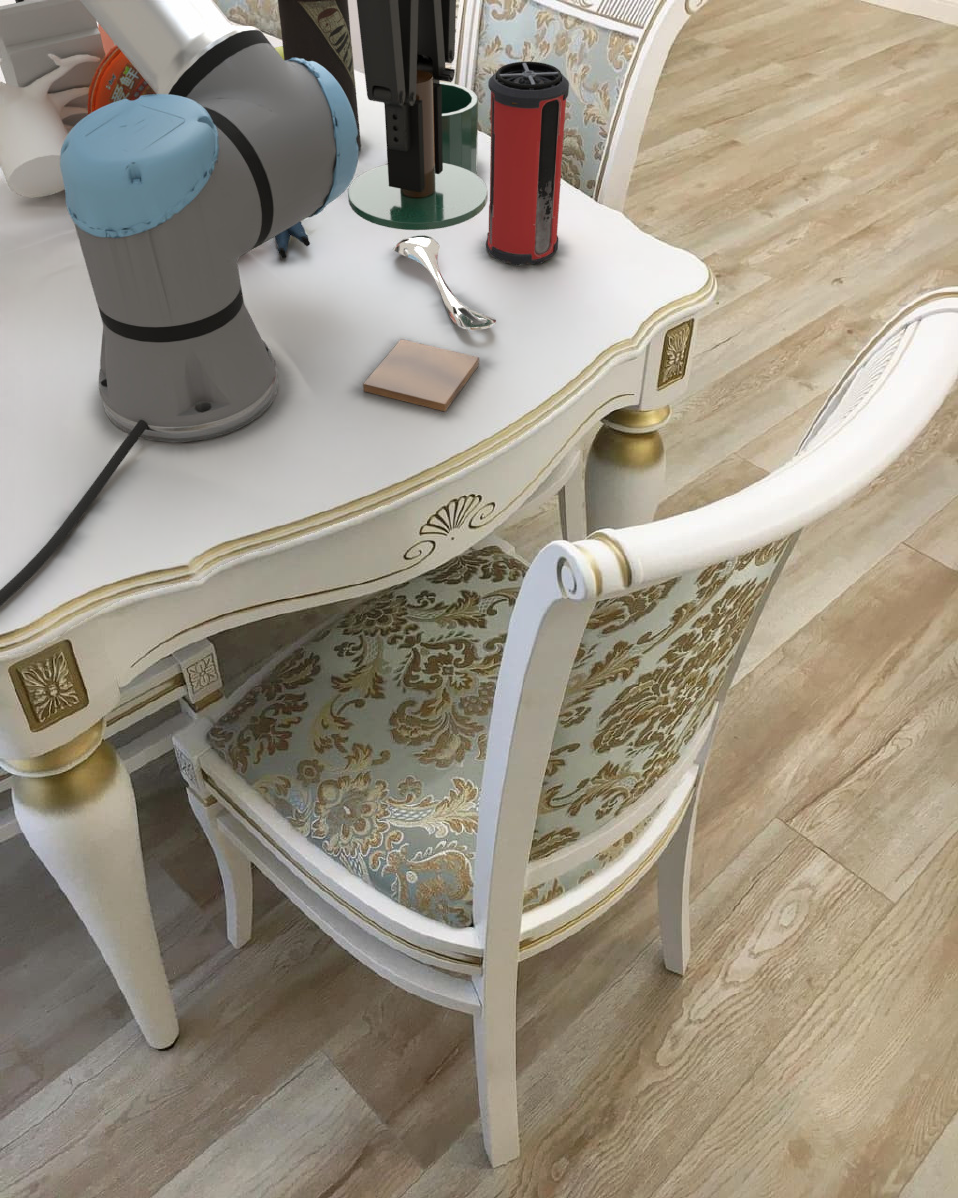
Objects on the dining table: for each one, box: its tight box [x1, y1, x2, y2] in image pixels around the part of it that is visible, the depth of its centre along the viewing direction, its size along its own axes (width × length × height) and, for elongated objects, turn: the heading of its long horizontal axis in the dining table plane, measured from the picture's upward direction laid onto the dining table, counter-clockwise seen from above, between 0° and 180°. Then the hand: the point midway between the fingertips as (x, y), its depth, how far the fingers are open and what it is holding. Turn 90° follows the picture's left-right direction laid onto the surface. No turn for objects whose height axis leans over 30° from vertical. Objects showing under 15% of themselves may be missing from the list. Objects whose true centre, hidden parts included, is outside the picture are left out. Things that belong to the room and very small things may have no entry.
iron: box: [0, 0, 106, 126], centre depth 117 cm, size 11×24×15 cm
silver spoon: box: [392, 234, 497, 331], centre depth 103 cm, size 20×4×5 cm
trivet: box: [362, 338, 480, 412], centre depth 94 cm, size 8×8×1 cm
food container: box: [87, 45, 156, 115], centre depth 116 cm, size 16×16×11 cm
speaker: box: [485, 61, 570, 267], centre depth 104 cm, size 8×8×18 cm
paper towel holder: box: [347, 70, 489, 231], centre depth 79 cm, size 11×11×10 cm
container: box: [277, 0, 362, 153], centre depth 121 cm, size 9×9×20 cm
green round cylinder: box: [440, 81, 479, 176], centre depth 121 cm, size 10×10×8 cm
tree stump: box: [0, 54, 100, 199], centre depth 115 cm, size 20×19×8 cm
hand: (416, 177), depth 81 cm, fingers closed on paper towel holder, 3 cm apart
